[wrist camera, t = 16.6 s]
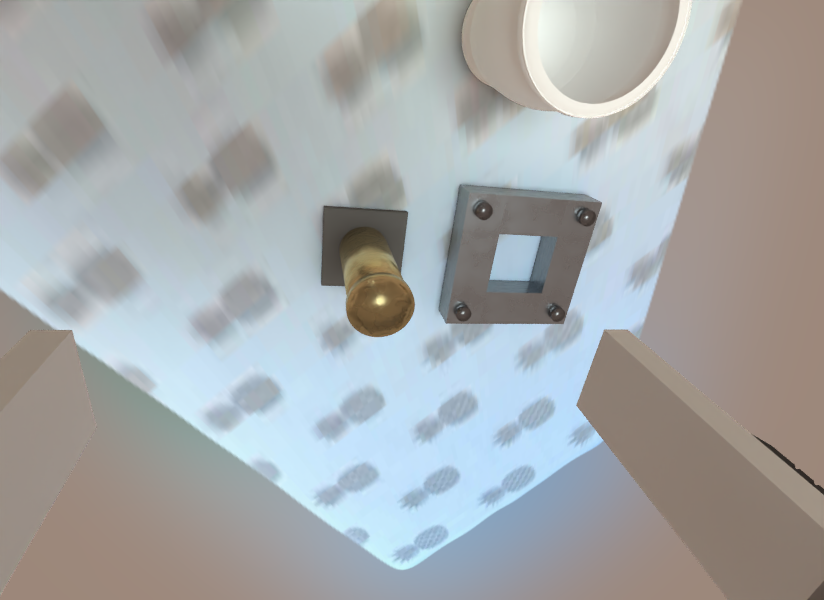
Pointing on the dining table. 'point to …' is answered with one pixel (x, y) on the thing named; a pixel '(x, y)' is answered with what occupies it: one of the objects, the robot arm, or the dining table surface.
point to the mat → (348, 219)
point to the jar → (573, 50)
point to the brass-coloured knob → (373, 284)
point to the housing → (554, 266)
